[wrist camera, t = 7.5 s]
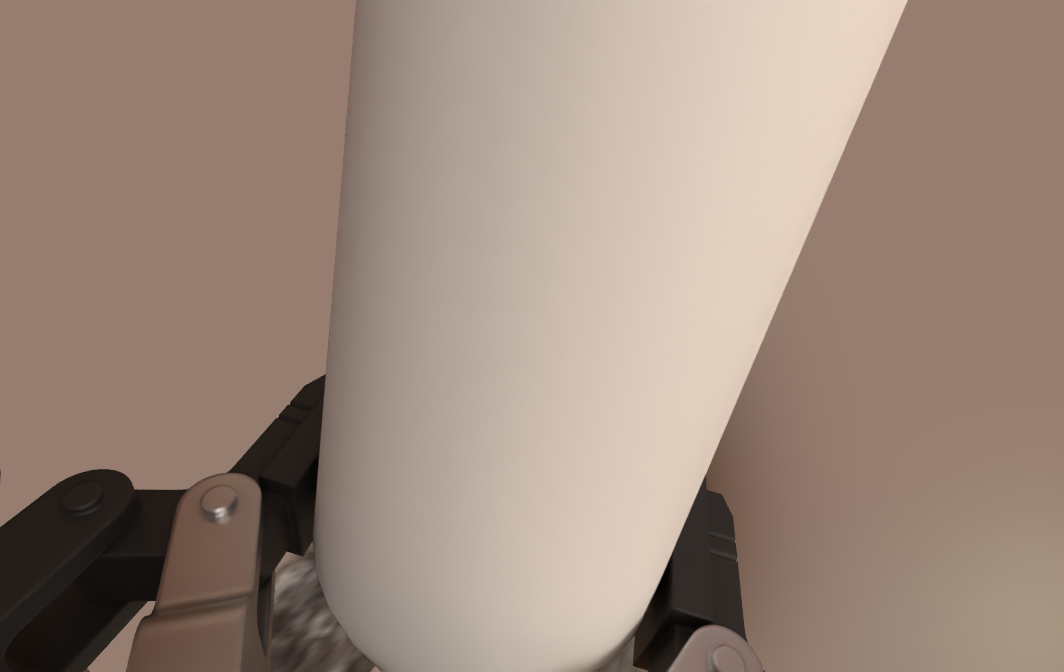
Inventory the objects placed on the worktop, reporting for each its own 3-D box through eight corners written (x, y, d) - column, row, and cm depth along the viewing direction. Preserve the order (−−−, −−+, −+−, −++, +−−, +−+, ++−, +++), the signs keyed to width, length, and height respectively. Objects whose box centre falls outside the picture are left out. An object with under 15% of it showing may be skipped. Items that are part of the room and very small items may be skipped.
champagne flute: (374, 620, 21) (404, -263, 7) (542, 654, 21) (902, -140, 7) (296, 853, 16) (-292, -1016, 2) (522, 895, 16) (1863, -423, 2)
